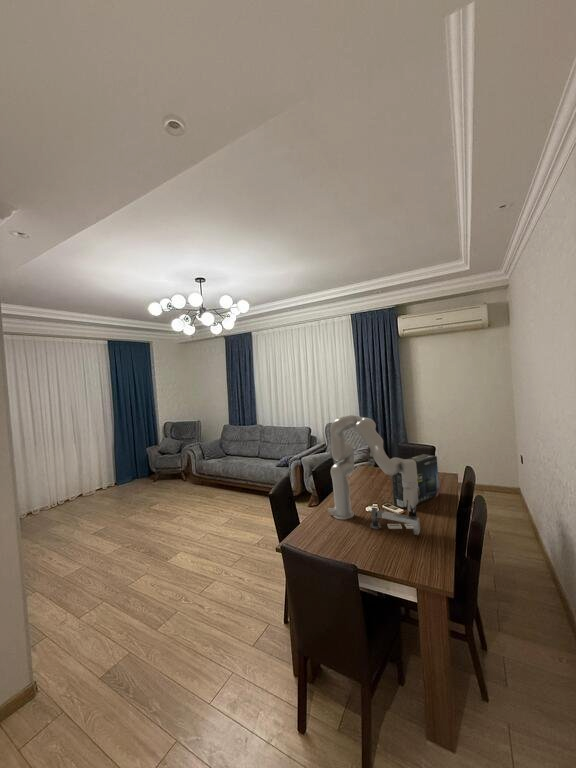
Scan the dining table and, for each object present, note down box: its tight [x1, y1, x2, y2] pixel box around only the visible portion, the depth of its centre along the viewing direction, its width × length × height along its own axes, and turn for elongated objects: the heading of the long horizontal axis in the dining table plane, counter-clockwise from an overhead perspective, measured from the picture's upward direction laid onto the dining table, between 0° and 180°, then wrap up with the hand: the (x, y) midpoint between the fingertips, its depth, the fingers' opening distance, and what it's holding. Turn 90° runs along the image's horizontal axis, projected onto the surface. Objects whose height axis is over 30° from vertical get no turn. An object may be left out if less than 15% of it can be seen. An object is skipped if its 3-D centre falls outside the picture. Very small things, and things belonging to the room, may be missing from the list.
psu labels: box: [387, 523, 414, 530], centre depth 163 cm, size 16×5×1 cm, turn 81°
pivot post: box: [369, 506, 382, 530], centre depth 166 cm, size 6×6×10 cm
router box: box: [391, 453, 440, 510], centre depth 198 cm, size 36×11×27 cm, turn 123°
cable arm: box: [377, 509, 421, 536], centre depth 158 cm, size 20×4×7 cm, turn 54°
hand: (413, 519), depth 158 cm, fingers closed
